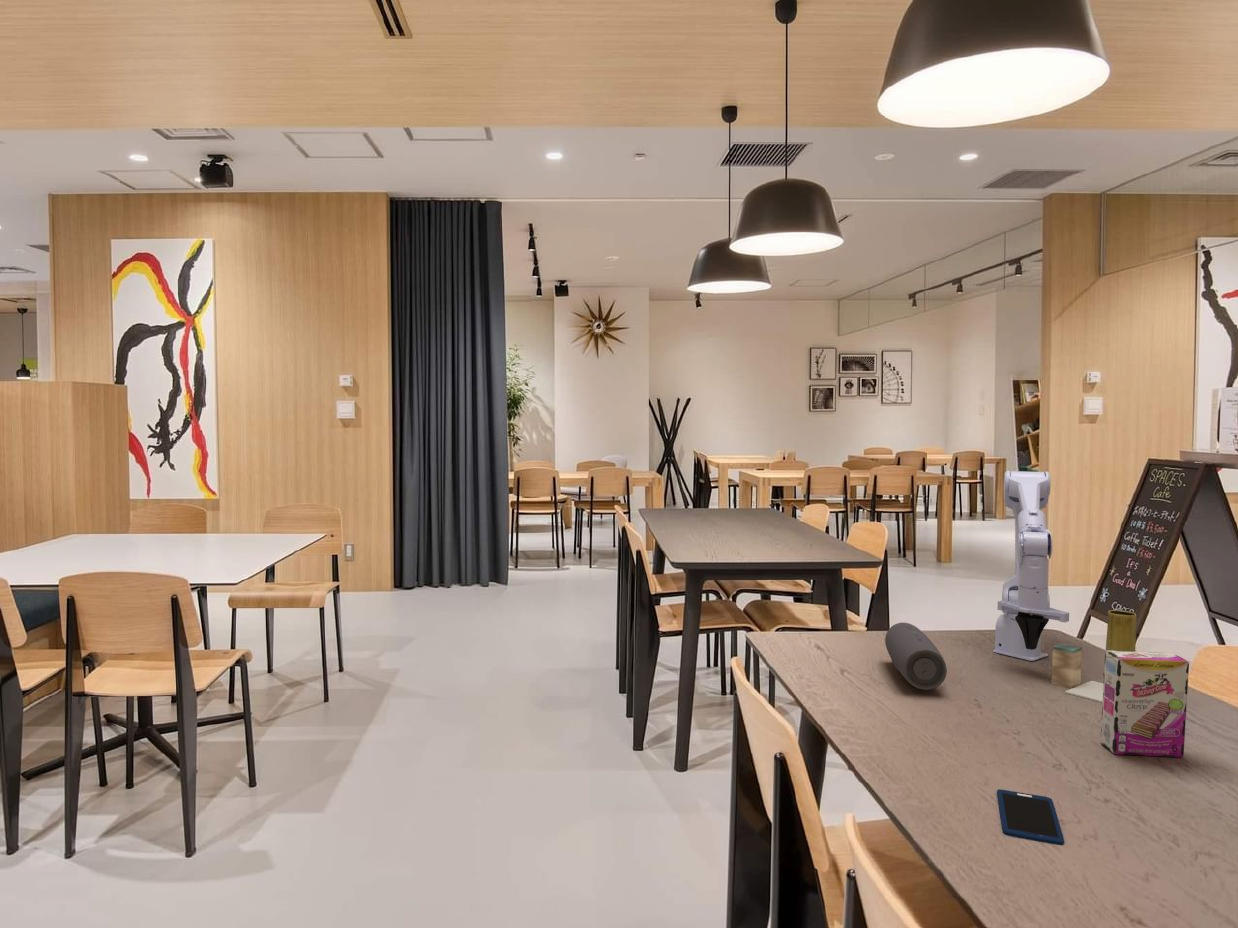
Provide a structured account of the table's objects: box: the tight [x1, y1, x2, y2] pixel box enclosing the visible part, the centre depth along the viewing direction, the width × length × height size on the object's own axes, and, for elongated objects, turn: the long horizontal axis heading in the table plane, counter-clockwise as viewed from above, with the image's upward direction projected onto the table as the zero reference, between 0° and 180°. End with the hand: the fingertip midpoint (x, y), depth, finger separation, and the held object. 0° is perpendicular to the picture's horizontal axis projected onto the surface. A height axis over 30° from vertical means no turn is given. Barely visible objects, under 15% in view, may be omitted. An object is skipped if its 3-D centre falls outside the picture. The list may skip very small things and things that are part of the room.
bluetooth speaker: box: [884, 622, 948, 691], centre depth 171 cm, size 23×9×10 cm, turn 171°
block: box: [1051, 642, 1083, 689], centre depth 168 cm, size 4×4×8 cm
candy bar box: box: [1100, 650, 1190, 758], centre depth 133 cm, size 11×5×16 cm, turn 84°
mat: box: [1064, 680, 1104, 704], centre depth 163 cm, size 9×12×1 cm
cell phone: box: [996, 789, 1065, 846], centre depth 111 cm, size 7×14×1 cm, turn 158°
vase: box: [1102, 609, 1137, 676], centre depth 172 cm, size 6×6×14 cm
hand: (1031, 648), depth 174 cm, fingers closed
